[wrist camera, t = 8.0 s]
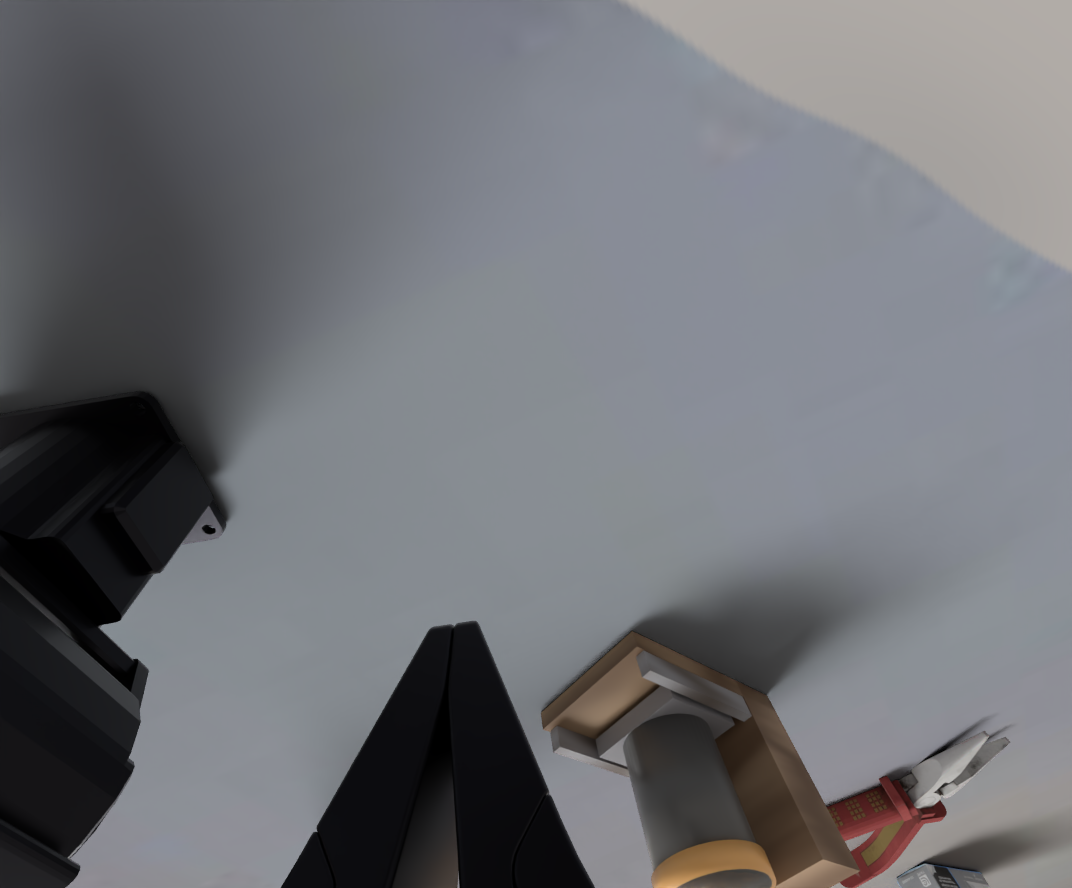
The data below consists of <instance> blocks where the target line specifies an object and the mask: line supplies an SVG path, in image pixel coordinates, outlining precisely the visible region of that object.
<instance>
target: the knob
mask: <svg viewBox="0 0 1072 888" xmlns="http://www.w3.org/2000/svg"><path fill="white" fill-rule="evenodd" d="M734 725H735V724H734V721H733V719H732V717H731V716H730V715H727V714H725V713H723V712H720V711H718V710H716V709H714V708H711V707H709V706H707V705H704V704H702V703H700V702H698V701H695V700H693V699H691V698H688V697H686V696H684V695H682V694H679V693H677V692H675V691H672V690H670V689H668V688H666V687H663V686H660V687H659V688H658V689H656V690H655V691H654V692H653V693H652V694H650V695H649V696H648V697H647V698H645V699H644V700H643V701H642V702H641V703H639V704H638V705H637V706H636V707H635V708H633V709H632V710H631V711H630V712H628V713H627V714H626V715H625V716H624V717H622V718H621V719H620V720H619V721H617V722H616V723H615V724H614V725H613V726H611V727H610V728H609V729H608V730H607V731H605V732H604V733H603V734H602V735H600V736H599V737H598V738H597V739H596V745H597V750H598V754H599V757H600V758H603V759H606V760H609V761H612V762H615V763H618V764H621V765H624V766H627V767H628V771H629V775H630V779H631V783H632V787H633V791H634V795H635V799H636V803H637V807H638V811H639V815H640V819H641V823H642V827H643V831H644V835H645V839H646V843H647V847H648V851H649V855H650V859H651V863H652V867H653V871H654V872H653V874H652V878H651V881H652V885H653V888H775V886H776V877H775V875H774V872H773V870H772V867H771V865H770V863H769V860H768V858H767V855H766V853H765V851H764V849H763V848H762V847H761V846H760V845H758V844H757V843H756V840H755V838H754V835H753V833H752V830H751V828H750V825H749V823H748V820H747V818H746V815H745V813H744V811H743V808H742V806H741V803H740V801H739V798H738V796H737V793H736V791H735V788H734V786H733V783H732V781H731V779H730V776H729V774H728V771H727V769H726V766H725V764H724V761H723V759H722V756H721V754H720V751H719V749H718V747H717V744H716V742H715V739H716V738H717V737H719V736H720V735H721V734H723V733H724V732H725V731H727V730H728V729H729V728H731V727H732V726H734Z"/></svg>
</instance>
